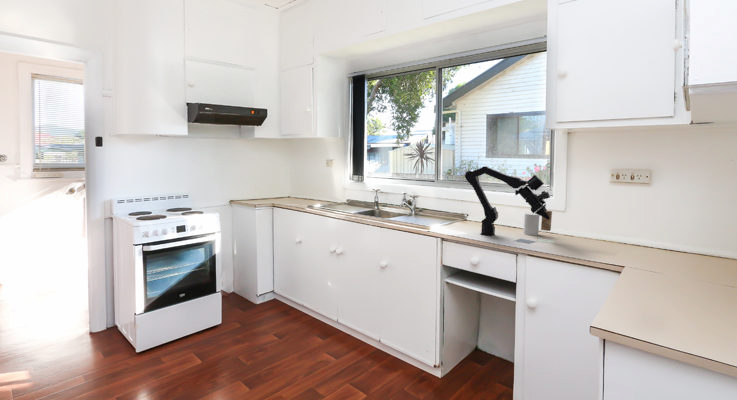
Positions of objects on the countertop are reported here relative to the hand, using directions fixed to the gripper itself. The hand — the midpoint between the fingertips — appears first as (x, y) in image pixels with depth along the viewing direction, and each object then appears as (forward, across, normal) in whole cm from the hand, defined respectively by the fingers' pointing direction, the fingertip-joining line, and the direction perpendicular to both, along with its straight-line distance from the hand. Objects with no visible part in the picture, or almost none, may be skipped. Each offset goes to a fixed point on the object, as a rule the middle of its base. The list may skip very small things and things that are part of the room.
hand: (549, 218), depth 217 cm
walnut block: (+4, 0, +6) cm, 7 cm away
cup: (+2, +16, +16) cm, 23 cm away
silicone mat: (+1, -7, +17) cm, 18 cm away
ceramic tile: (+8, 0, +10) cm, 13 cm away
